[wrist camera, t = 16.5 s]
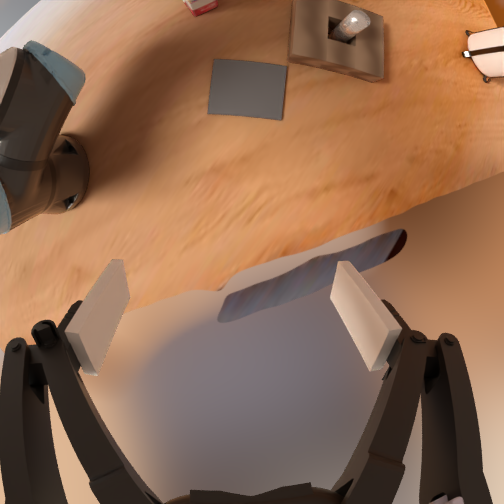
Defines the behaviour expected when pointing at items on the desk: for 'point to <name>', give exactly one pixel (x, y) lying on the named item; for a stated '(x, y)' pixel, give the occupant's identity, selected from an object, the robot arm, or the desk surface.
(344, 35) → the silver rounded cylinder
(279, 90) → the rubber mat
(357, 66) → the hole block
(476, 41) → the coffee press
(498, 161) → the desk surface
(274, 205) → the desk surface
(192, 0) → the ink box
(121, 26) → the desk surface
